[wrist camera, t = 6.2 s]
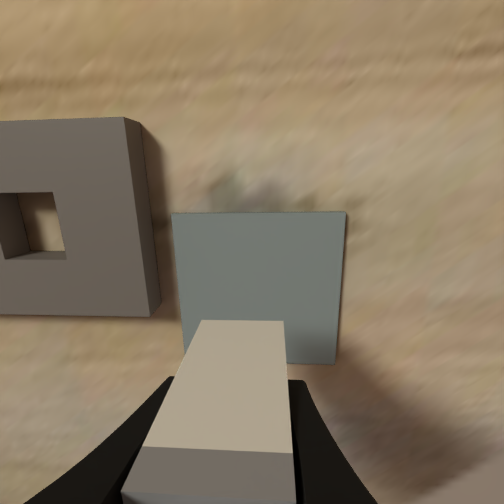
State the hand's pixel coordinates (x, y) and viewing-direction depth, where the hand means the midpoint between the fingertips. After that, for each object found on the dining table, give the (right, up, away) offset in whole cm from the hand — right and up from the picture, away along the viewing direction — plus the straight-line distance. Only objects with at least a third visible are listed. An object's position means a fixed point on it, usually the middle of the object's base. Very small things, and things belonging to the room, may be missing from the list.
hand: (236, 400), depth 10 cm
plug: (0, +1, +3) cm, 3 cm away
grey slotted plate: (-16, +7, +9) cm, 20 cm away
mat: (+1, +3, +9) cm, 10 cm away
